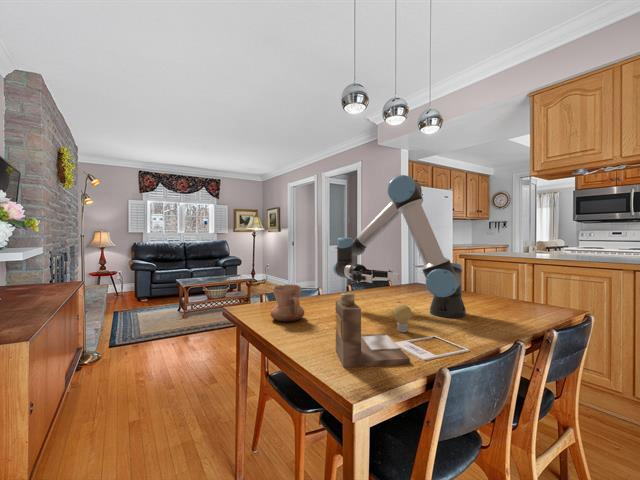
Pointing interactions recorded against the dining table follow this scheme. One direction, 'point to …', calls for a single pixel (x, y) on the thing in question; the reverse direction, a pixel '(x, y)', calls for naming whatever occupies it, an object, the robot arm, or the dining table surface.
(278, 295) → the ceramic jug
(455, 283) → the robot arm
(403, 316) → the light bulb
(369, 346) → the brown l-shaped block
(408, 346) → the photo frame
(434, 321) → the dining table surface
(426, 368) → the dining table surface
